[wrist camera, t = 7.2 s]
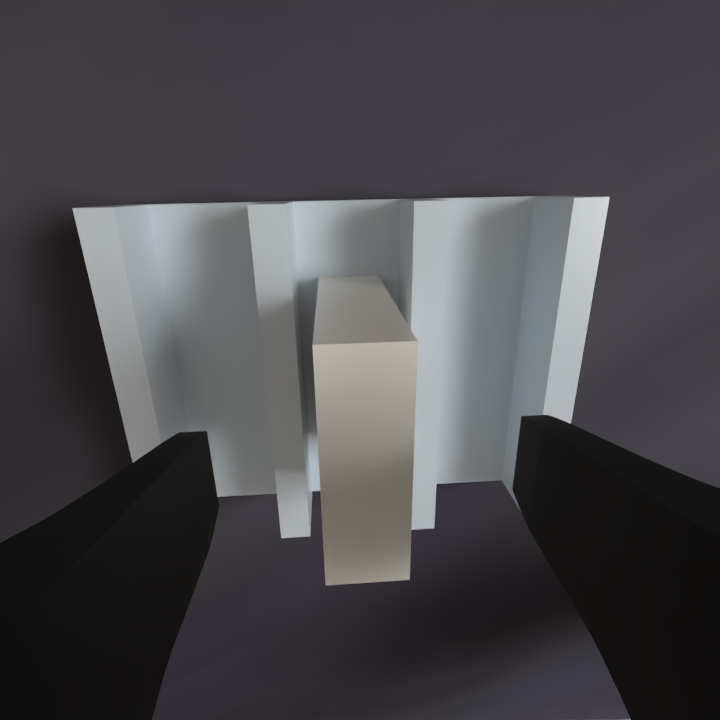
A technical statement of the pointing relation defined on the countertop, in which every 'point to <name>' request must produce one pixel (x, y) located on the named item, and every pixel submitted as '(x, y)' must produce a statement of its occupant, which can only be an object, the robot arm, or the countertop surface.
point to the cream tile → (364, 429)
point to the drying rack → (297, 317)
